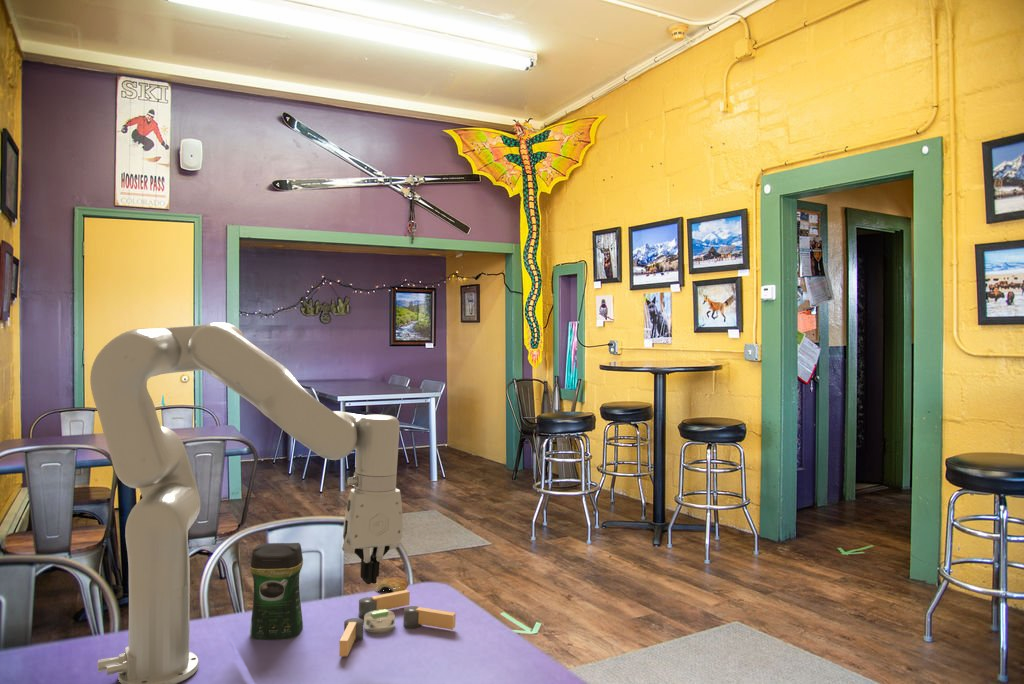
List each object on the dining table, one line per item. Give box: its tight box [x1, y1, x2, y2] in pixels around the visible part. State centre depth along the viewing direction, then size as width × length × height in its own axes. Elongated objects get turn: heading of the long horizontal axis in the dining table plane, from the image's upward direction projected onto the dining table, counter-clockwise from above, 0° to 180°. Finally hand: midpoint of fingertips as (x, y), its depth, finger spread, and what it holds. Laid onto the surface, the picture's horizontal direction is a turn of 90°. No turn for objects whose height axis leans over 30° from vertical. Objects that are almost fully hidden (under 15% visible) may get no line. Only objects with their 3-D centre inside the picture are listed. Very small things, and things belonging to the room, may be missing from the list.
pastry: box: [374, 576, 409, 593], centre depth 165 cm, size 9×7×4 cm
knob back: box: [358, 589, 411, 619], centre depth 150 cm, size 11×4×3 cm, turn 122°
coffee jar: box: [249, 542, 304, 641], centre depth 140 cm, size 10×8×19 cm
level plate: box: [363, 609, 396, 634], centre depth 143 cm, size 18×18×4 cm
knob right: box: [402, 605, 457, 630], centre depth 143 cm, size 11×4×3 cm, turn 71°
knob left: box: [338, 617, 364, 657], centre depth 134 cm, size 11×4×3 cm, turn 1°
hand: (369, 581), depth 133 cm, fingers closed
